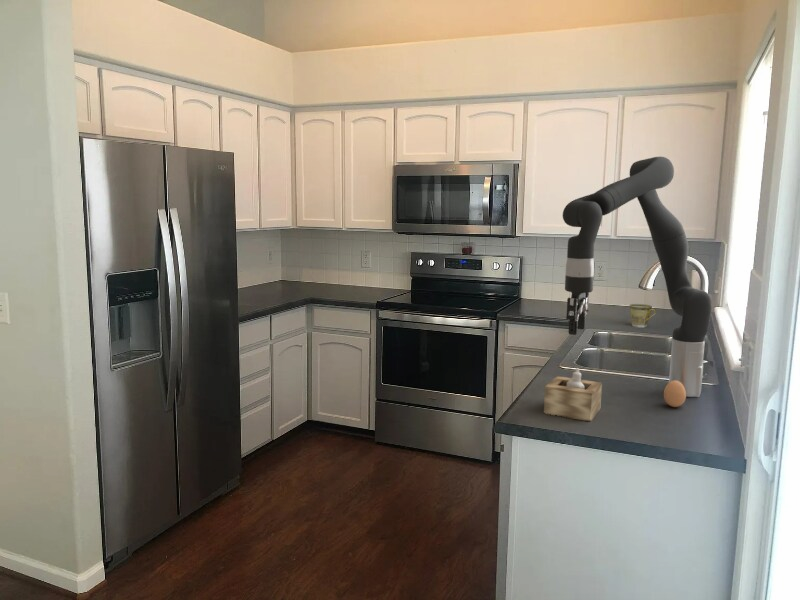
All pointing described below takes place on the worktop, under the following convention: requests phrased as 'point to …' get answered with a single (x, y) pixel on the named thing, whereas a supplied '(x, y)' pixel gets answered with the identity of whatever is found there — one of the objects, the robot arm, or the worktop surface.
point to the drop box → (572, 399)
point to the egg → (674, 393)
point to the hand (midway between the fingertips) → (576, 331)
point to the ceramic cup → (640, 314)
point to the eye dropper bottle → (576, 380)
